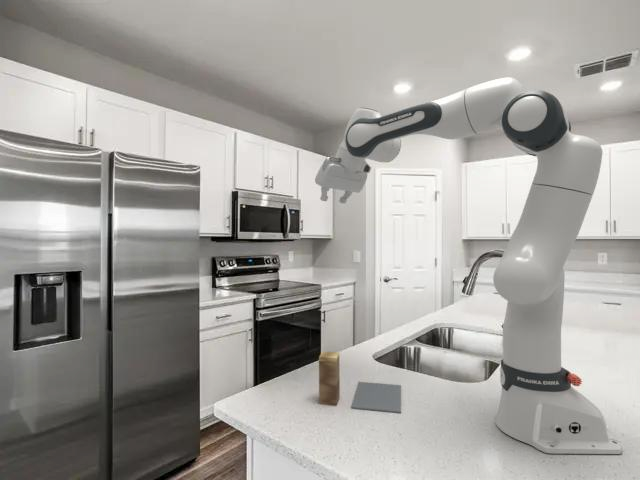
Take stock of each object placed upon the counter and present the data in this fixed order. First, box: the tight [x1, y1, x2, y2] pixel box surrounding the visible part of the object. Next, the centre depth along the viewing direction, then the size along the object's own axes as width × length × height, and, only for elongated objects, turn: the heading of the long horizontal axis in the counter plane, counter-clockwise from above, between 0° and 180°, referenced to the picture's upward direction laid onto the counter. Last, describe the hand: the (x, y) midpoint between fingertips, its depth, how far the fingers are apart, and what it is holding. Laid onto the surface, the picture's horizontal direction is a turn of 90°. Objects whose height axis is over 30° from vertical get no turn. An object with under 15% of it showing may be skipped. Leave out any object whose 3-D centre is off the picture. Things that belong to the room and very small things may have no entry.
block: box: [318, 351, 341, 407], centre depth 93 cm, size 4×4×12 cm
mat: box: [350, 381, 402, 414], centre depth 95 cm, size 12×16×1 cm
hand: (332, 201), depth 116 cm, fingers open, 8 cm apart
